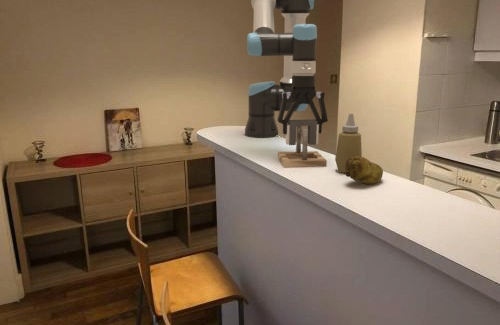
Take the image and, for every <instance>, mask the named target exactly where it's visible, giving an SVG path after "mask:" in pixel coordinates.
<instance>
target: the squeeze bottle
mask: <svg viewBox="0 0 500 325" xmlns="http://www.w3.org/2000/svg"><path fill="white" fill-rule="evenodd" d="M354 116H355V115H354V114H353V113H349V114H348V116H347V120H346V124H344V125H342V131H341V132H340V133H339V134H338V139H337V145H336V150H335V151H336V152H335V157H334V158H335V159H334V161H335V164H336V169H337V171H338V172H339V173H343V174H346V171H345V163H346V161H347V160H348V159H350V158H352V157H356V156H359V157H363V153H362V152H363V151H362V134H361V133H359V125H357V124H356V123H355V117H354Z"/></svg>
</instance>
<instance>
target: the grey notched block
mask: <svg viewBox="0 0 500 325" xmlns="http://www.w3.org/2000/svg"><path fill="white" fill-rule="evenodd" d="M287 124H289V125H290V131H289V146H296V138H297V126H301V127H307V129H308V144H307V145H310V146H313V145H315V146H316V145H317V144H316V131H317V121H316V119H315V118H314V119H290V120H289V122H288V123H287Z"/></svg>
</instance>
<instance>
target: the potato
mask: <svg viewBox="0 0 500 325" xmlns="http://www.w3.org/2000/svg"><path fill="white" fill-rule="evenodd" d="M345 171H346V173H345V176H346V177H348V178H350V179H352V180H353V181H356V182H360V183H363V184H364V185H365V184H366V185H372V184H374V185H375V184H377V183H378V182H380V181H381V180H382V178H383V173H384V169H383V168H382V167H381V166H380V165H379V164H377V163H374V162H371V161H370V160H369V159H367V158H365V157H363V156H362V157H359V156H356V157H352V158H350V159H348V160H347V161H346V163H345Z"/></svg>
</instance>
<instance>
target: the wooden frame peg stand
mask: <svg viewBox="0 0 500 325" xmlns="http://www.w3.org/2000/svg"><path fill="white" fill-rule="evenodd" d="M308 145H309V144H308V128H303V129H302V126H296V145H295V146H296V147H295V151H278V152H277V158H278V160H279V162H280V163H281V165H282V167H283V169H284V168H309V167H311V168H313V167H314V168H315V167H327V164H328V163H327V161H328V160H327V159H326V158H325V157H324V156H323V155H322V154H321V153H320V152H318V151H317V150H316V151H313V150H311V151H309V150H308Z"/></svg>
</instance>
